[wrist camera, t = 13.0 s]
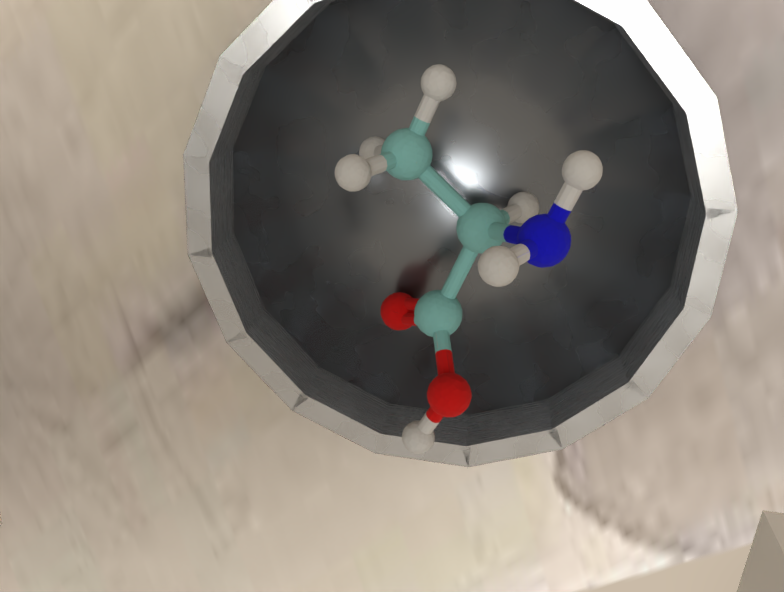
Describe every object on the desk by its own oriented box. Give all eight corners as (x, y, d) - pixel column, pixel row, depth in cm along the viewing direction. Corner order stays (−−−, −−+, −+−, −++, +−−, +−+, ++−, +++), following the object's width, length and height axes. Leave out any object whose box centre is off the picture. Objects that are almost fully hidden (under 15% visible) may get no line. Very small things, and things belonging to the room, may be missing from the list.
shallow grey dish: (228, 382, 36) (195, 426, 32) (217, -74, 28) (172, -85, 25) (649, 442, 34) (665, 496, 30) (763, -40, 26) (803, -46, 22)
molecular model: (211, 163, 26) (304, 255, 18) (424, 31, 28) (598, 61, 20) (348, 379, 33) (463, 520, 25) (515, 261, 34) (676, 356, 26)
